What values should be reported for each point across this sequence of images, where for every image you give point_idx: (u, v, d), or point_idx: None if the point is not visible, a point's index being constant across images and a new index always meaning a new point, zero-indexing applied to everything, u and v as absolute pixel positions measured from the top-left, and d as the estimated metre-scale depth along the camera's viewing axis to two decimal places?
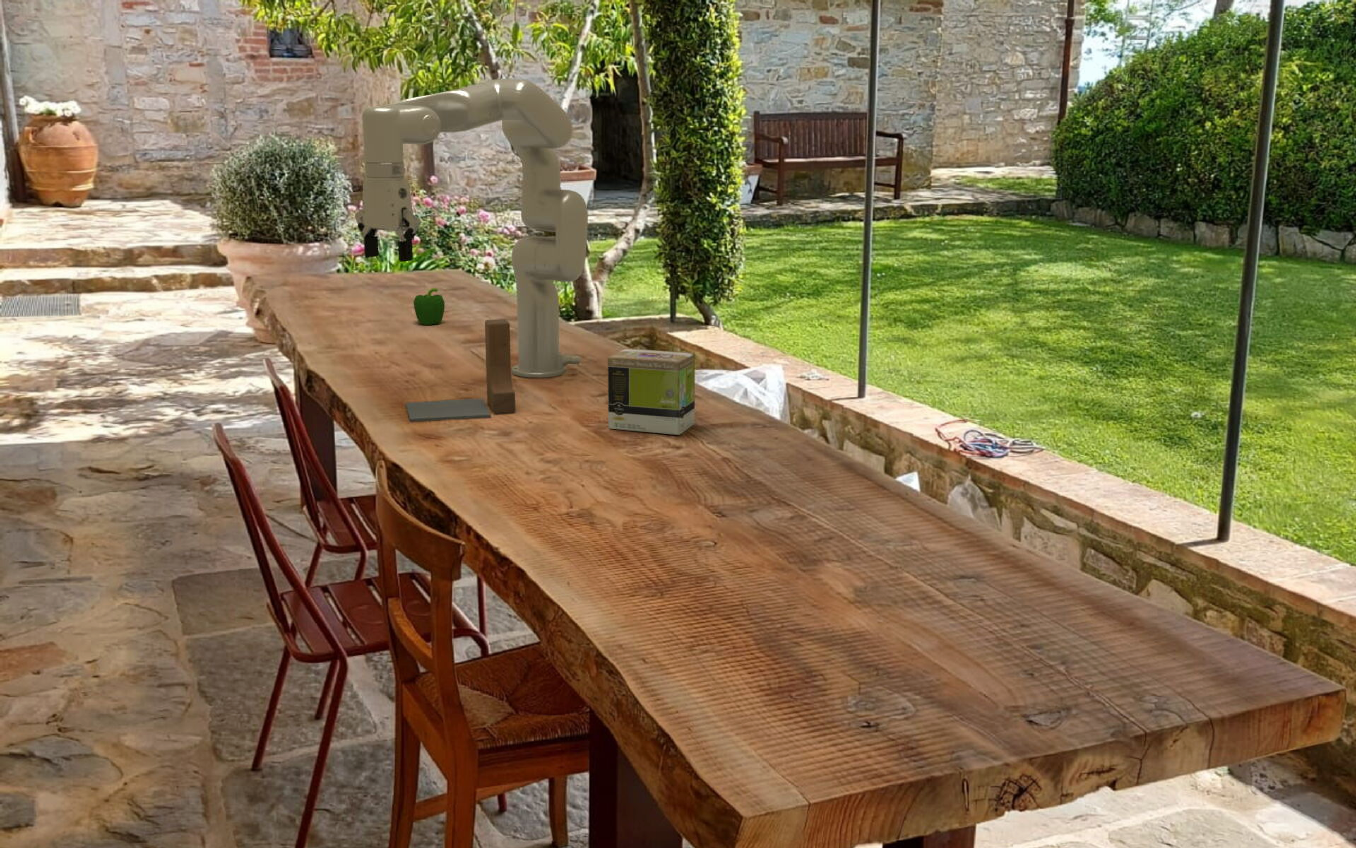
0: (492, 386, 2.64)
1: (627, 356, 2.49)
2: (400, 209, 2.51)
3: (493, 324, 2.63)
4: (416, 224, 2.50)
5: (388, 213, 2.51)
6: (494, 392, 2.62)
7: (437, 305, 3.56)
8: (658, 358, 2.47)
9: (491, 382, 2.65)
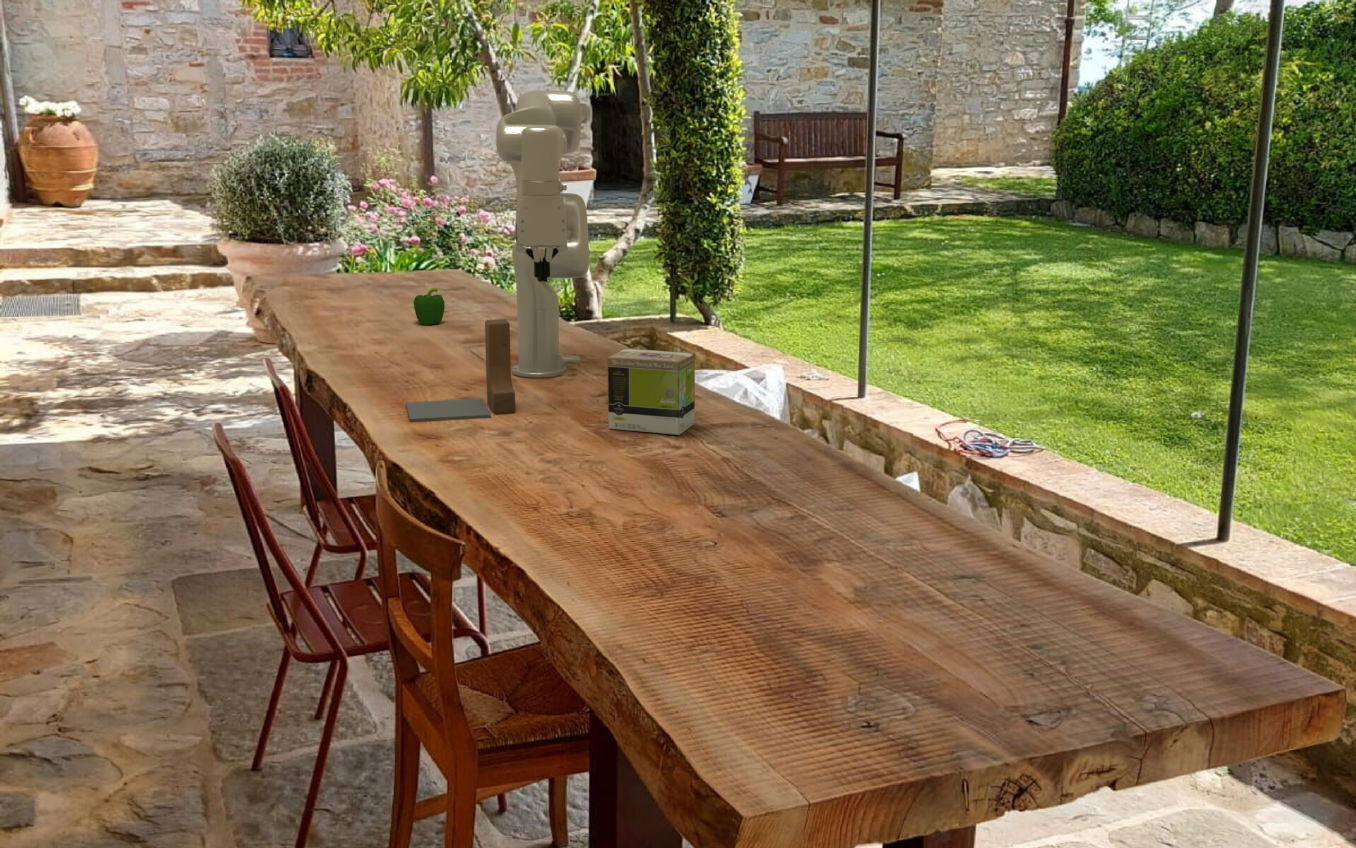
0: (492, 386, 2.64)
1: (627, 356, 2.49)
2: None
3: (493, 324, 2.63)
4: None
5: (557, 229, 2.59)
6: (494, 392, 2.62)
7: (437, 305, 3.56)
8: (658, 358, 2.47)
9: (491, 382, 2.65)
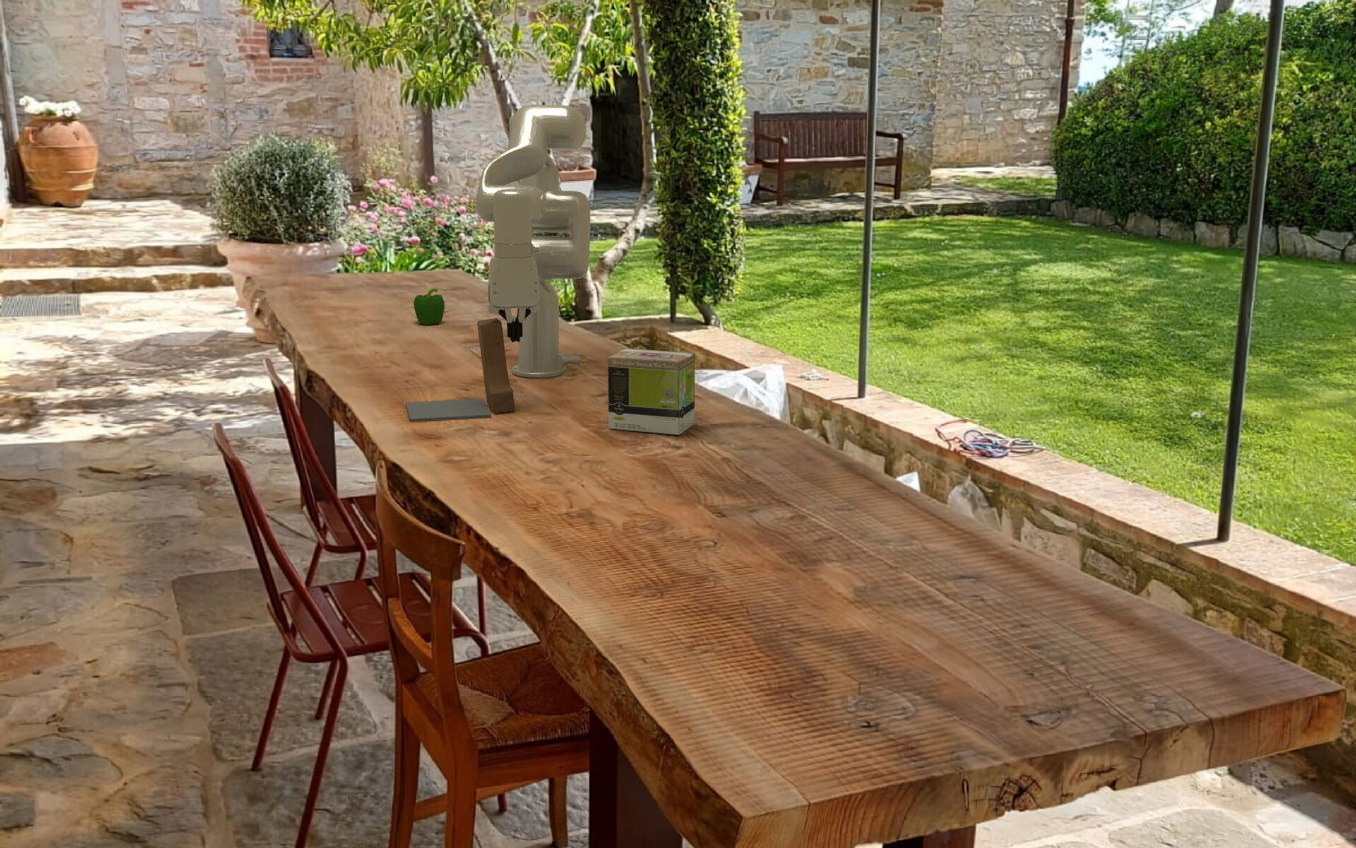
0: (490, 386, 2.64)
1: (627, 356, 2.49)
2: None
3: (485, 324, 2.62)
4: None
5: (530, 290, 2.61)
6: (492, 392, 2.62)
7: (437, 305, 3.56)
8: (658, 358, 2.47)
9: (488, 382, 2.65)
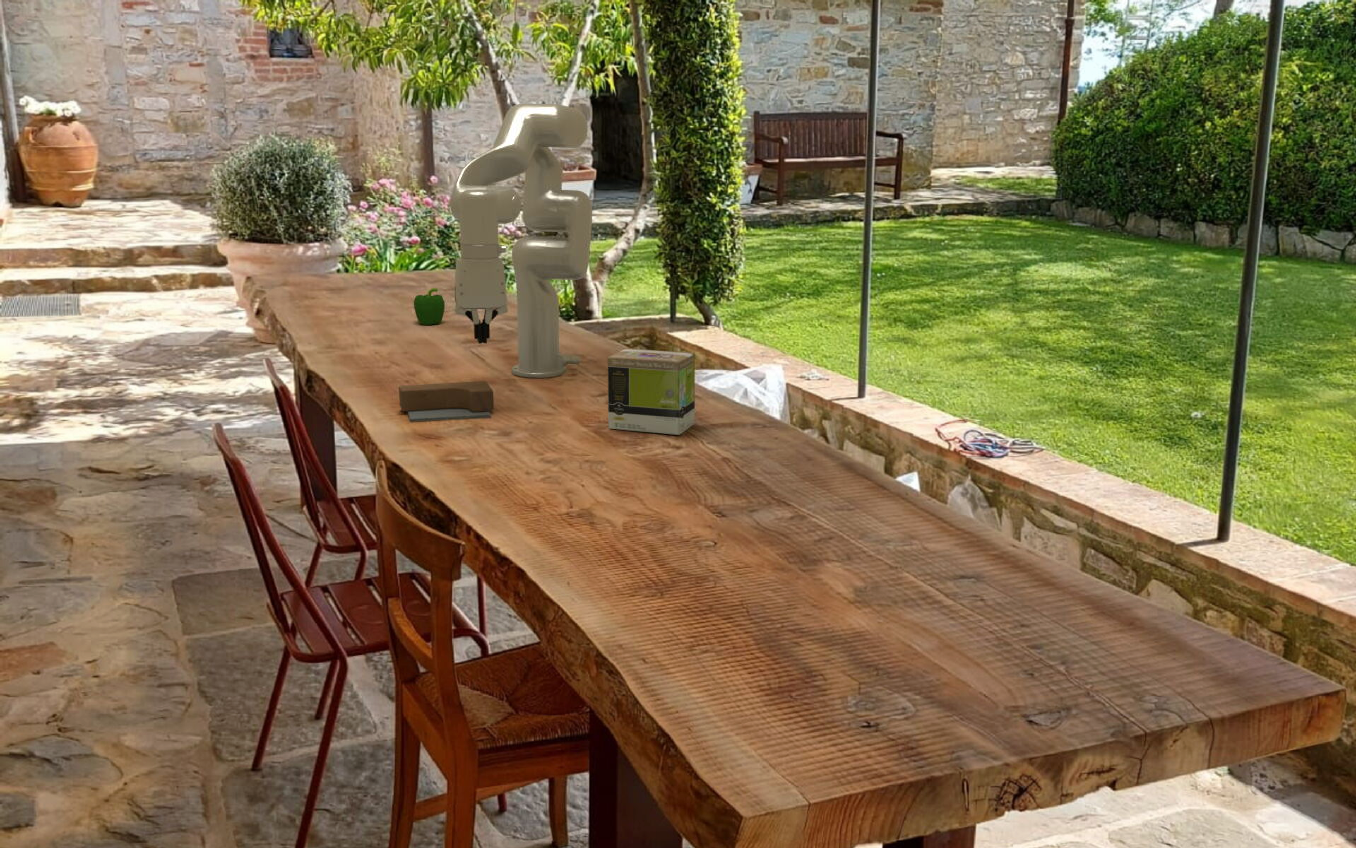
0: (466, 408, 2.64)
1: (627, 356, 2.49)
2: None
3: (403, 406, 2.61)
4: None
5: (497, 292, 2.59)
6: (471, 410, 2.62)
7: (437, 305, 3.56)
8: (658, 358, 2.47)
9: (462, 407, 2.64)
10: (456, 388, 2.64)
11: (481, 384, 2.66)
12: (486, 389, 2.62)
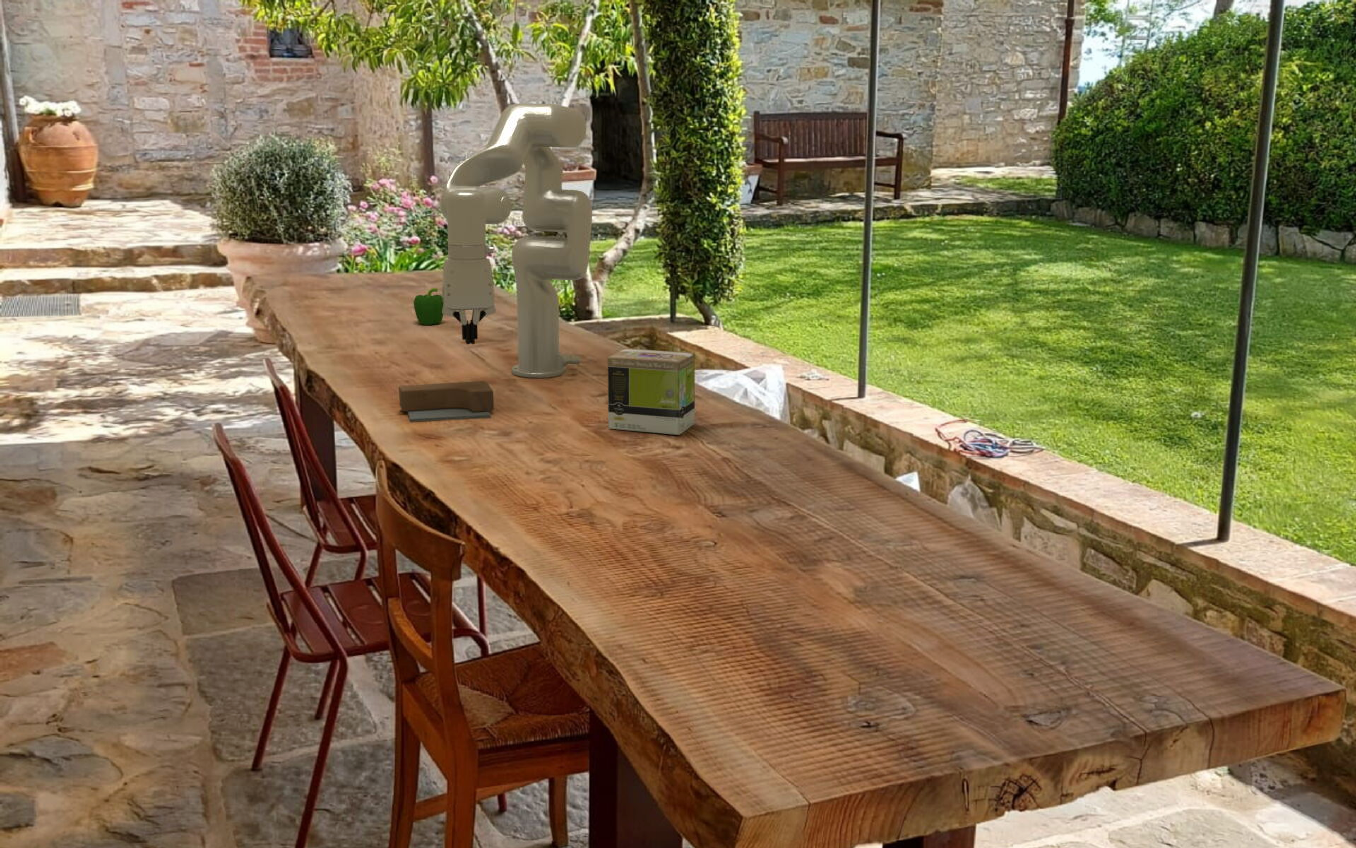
0: (466, 408, 2.64)
1: (627, 356, 2.49)
2: None
3: (403, 406, 2.61)
4: None
5: (484, 292, 2.58)
6: (471, 410, 2.62)
7: (437, 306, 3.56)
8: (658, 358, 2.47)
9: (462, 407, 2.64)
10: (456, 388, 2.64)
11: (481, 384, 2.66)
12: (486, 389, 2.62)
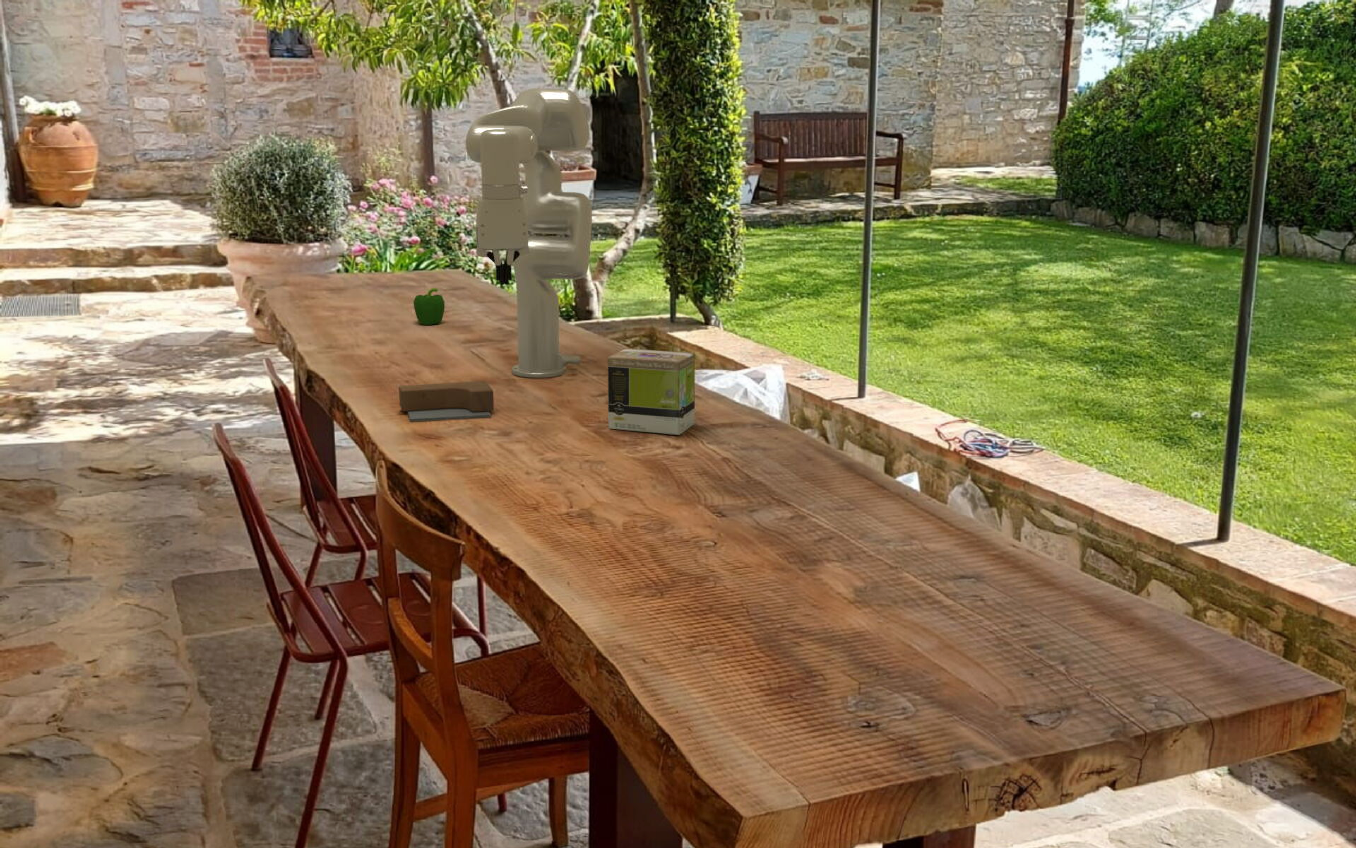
0: (466, 408, 2.64)
1: (627, 356, 2.49)
2: None
3: (403, 406, 2.61)
4: None
5: (518, 232, 2.58)
6: (471, 410, 2.62)
7: (437, 306, 3.56)
8: (658, 358, 2.47)
9: (462, 407, 2.64)
10: (456, 388, 2.64)
11: (481, 384, 2.66)
12: (486, 389, 2.62)
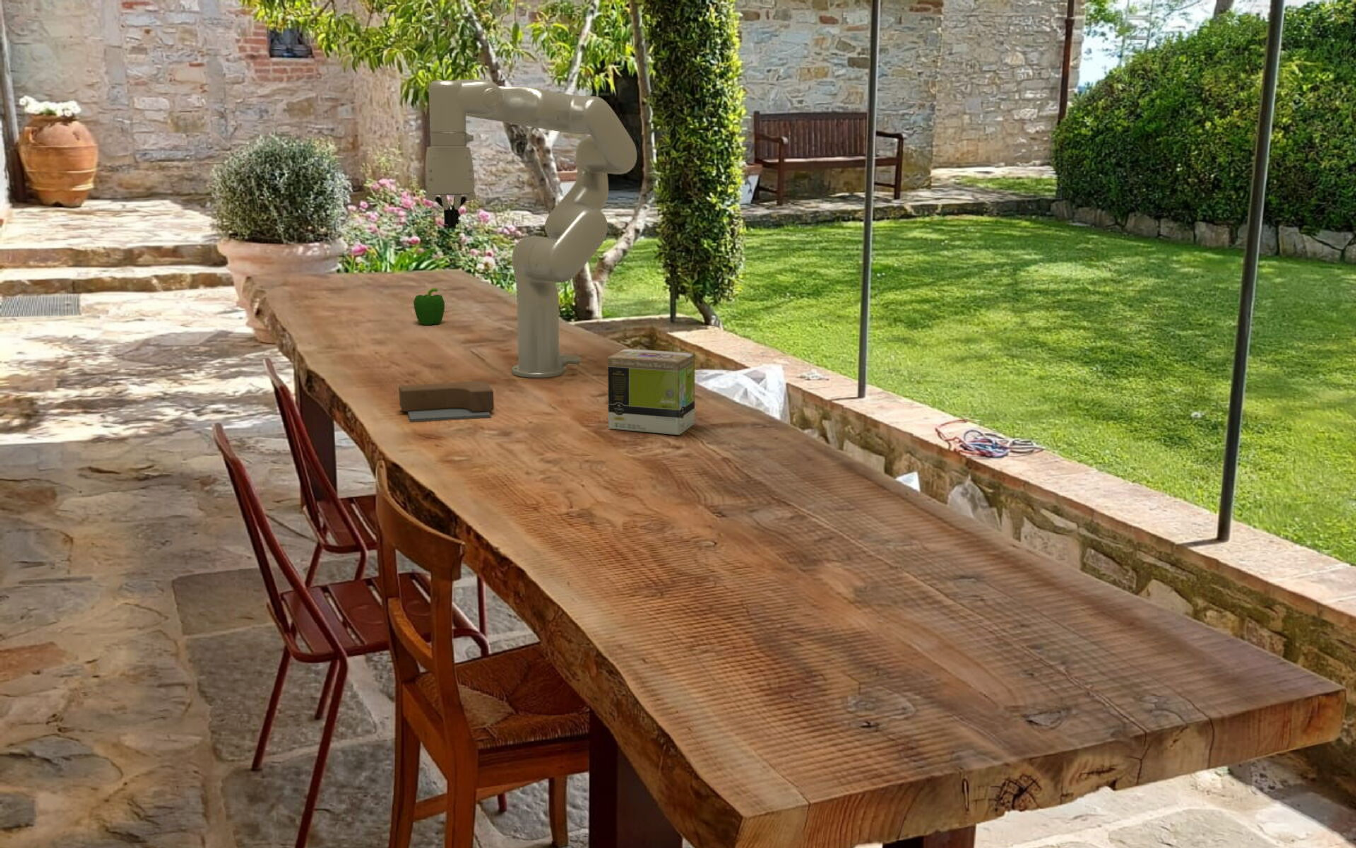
0: (466, 408, 2.64)
1: (627, 356, 2.49)
2: None
3: (403, 406, 2.61)
4: (472, 199, 2.77)
5: (465, 178, 2.73)
6: (471, 410, 2.62)
7: (437, 306, 3.56)
8: (658, 358, 2.47)
9: (462, 407, 2.64)
10: (456, 388, 2.64)
11: (481, 384, 2.66)
12: (486, 389, 2.62)
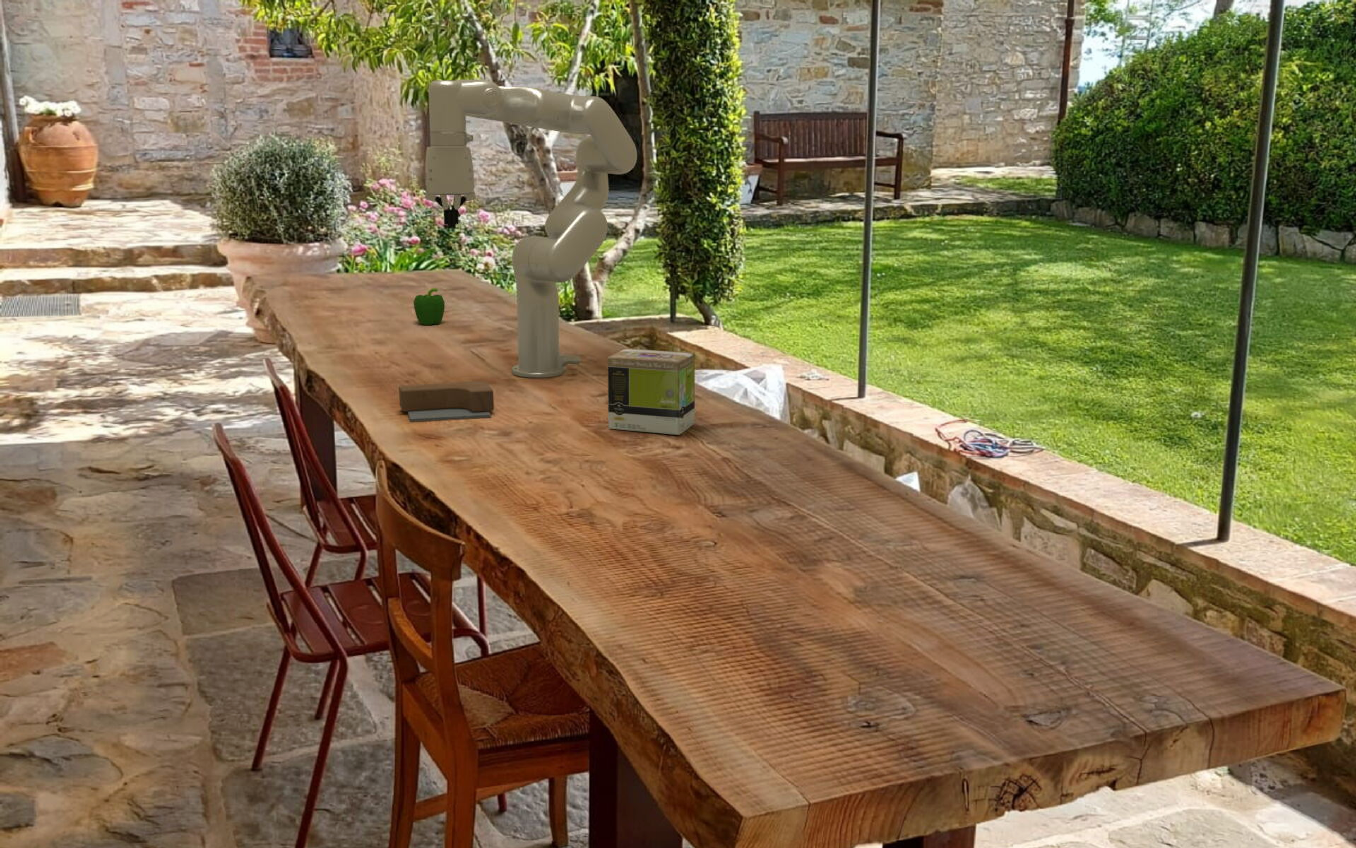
0: (466, 408, 2.64)
1: (627, 356, 2.49)
2: (473, 174, 2.75)
3: (403, 406, 2.61)
4: (472, 199, 2.77)
5: (465, 178, 2.73)
6: (471, 410, 2.62)
7: (437, 306, 3.56)
8: (658, 358, 2.47)
9: (462, 407, 2.64)
10: (456, 388, 2.64)
11: (481, 384, 2.66)
12: (486, 389, 2.62)
